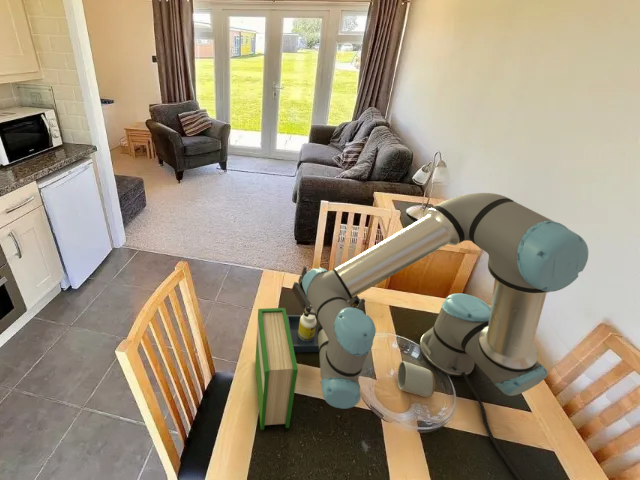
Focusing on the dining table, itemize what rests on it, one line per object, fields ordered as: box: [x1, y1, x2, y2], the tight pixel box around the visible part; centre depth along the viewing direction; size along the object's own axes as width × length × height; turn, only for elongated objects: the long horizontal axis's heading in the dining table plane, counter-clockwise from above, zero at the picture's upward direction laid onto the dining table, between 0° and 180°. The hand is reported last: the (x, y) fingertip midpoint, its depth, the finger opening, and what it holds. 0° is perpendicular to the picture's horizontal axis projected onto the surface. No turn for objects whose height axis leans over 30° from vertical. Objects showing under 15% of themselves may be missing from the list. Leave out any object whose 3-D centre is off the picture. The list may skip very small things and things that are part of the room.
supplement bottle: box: [298, 312, 317, 341], centre depth 104 cm, size 5×5×10 cm
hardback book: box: [254, 307, 299, 431], centre depth 83 cm, size 18×7×24 cm, turn 5°
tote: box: [287, 314, 319, 353], centre depth 106 cm, size 12×12×3 cm
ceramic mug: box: [397, 360, 436, 398], centre depth 92 cm, size 11×8×8 cm
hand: (325, 276), depth 95 cm, fingers open, 13 cm apart
